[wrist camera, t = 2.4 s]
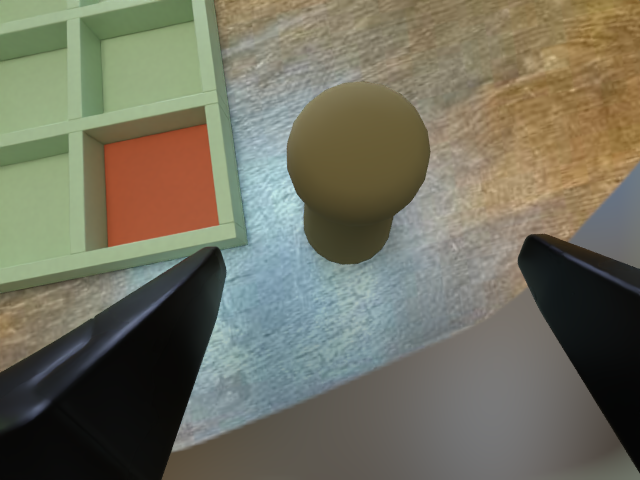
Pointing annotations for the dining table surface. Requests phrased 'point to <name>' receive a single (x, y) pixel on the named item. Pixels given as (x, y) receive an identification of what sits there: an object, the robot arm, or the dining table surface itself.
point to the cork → (356, 167)
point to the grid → (112, 138)
